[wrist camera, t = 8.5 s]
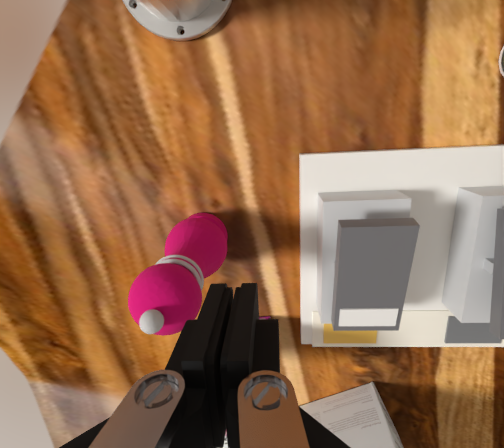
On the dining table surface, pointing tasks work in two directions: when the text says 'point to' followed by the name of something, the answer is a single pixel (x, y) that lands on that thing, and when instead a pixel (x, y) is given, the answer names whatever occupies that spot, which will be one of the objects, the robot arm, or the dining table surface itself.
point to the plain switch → (498, 280)
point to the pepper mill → (178, 275)
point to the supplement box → (356, 418)
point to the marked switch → (372, 273)
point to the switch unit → (427, 246)
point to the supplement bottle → (501, 61)
